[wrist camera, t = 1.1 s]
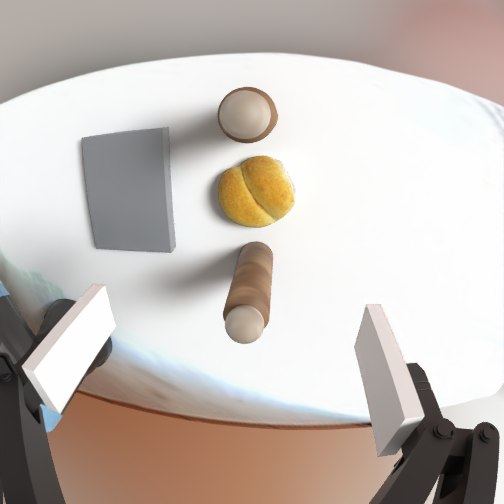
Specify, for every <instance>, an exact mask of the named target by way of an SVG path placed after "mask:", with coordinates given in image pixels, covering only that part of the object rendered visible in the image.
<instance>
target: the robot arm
mask: <svg viewBox="0 0 504 504" xmlns="http://www.w3.org/2000/svg"><path fill="white" fill-rule="evenodd" d="M115 327H116V326H115V322H114V319H113V315H112V311H111V308H110V304H109V300H108V296H107V292H106V288H105V285H99V284H93V285H92V286H91V287H90V288H89V289H88V290H87V291H86V292H85V293H84V294H83V295H82V296H81V298H80V299H79V300H78V301H77V302H75V301H72V300H68V299H60V300H57V301H55V302H54V303H53V304H52V305H51V306H50V307H49V308H48V310H47V311H46V314H45V317H44V321H43V323H42V325H41V327H40V329H39V332H38V334H37V335H36V337H35V335H34V334H33V332H32V331H31V329H30V328H29V326H28V325H27V323H26V322H25V320H24V318H23V317H22V315H21V314H20V312H19V310H18V309H17V307H16V305H15V304H14V302H13V300H12V298H11V297H10V293H9V292H7V290H6V288H5V287H4V285H3V284H2V282H1V280H0V504H3V492H4V497H5V502H6V504H66V503H65V500H64V497H63V494H62V491H61V488H60V485H59V482H58V478H57V475H56V471H55V468H54V464H53V460H52V456H51V452H50V448H49V443H48V439H47V434H46V432H50V431H52V430H53V429H54V427H55V426H56V425H57V423H58V422H59V420H60V419H61V418H62V417H63V416H62V415H63V413H64V412H65V410H66V408H67V406H68V405H69V403H70V401H71V399H72V398H73V396H74V394H75V393H76V391H77V389H78V388H79V386H80V384H81V383H82V381H83V380H84V378H85V377H86V376H87V375H88V374H90V373H91V372H92V371H94V370H95V369H96V367H99V366H101V365H102V364H104V363H105V362H106V360H107V359H108V357H109V355H110V354H111V351H112V342H111V338H110V334H111V333H112V331H113V330H114V328H115ZM354 348H355V352H356V356H357V360H358V364H359V368H360V372H361V377H362V381H363V385H364V390H365V394H366V399H367V403H368V408H369V413H370V418H371V423H372V428H373V432H374V438H375V443H376V449H377V455H378V457H380V456H387V455H394V454H396V453H397V452H398V451H399V449H400V448H401V449H402V453H403V456H402V457H401V458H400V459H399V460H398V461H397V463H396V464H395V465H394V467H395V468H394V469H393V470H392V472H391V474H390V475H389V476H388V478H387V480H386V481H385V482H384V484H383V485H382V486H381V488H380V489H379V491H378V492H377V493H376V495H375V496H374V497H373V499H372V500H371V501H370V503H369V504H424V503H425V501H426V499H427V497H428V496H429V494H430V492H431V490H432V488H433V486H434V484H435V483H436V481H437V479H438V477H439V481H438V484H437V488H436V492H435V496H434V499H433V503H432V504H494V497H495V490H496V482H497V472H498V459H499V432H498V430H497V428H496V427H495V426H494V425H492V424H490V423H488V422H482V423H480V424H478V425H477V426H476V427H475V428H474V430H472V429H461V428H456V427H455V426H454V424H453V423H452V422H451V421H449V420H448V419H445V418H443V416H442V414H441V411H440V409H439V406H438V403H437V401H436V398H435V396H434V393H433V391H432V390H431V386H430V383H429V382H428V378H427V376H426V374H425V371H424V370H423V369H422V368H421V367H420V366H419V365H418V364H417V363H409V364H406V363H405V360H404V358H403V355H402V353H401V350H400V348H399V345H398V343H397V341H396V338H395V336H394V333H393V331H392V329H391V326H390V324H389V322H388V319H387V317H386V315H385V313H384V310H383V308H382V306H381V304H366V307H365V311H364V314H363V318H362V322H361V325H360V329H359V332H358V336H357V339H356V343H355V346H354ZM439 475H440V476H439Z"/></svg>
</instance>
